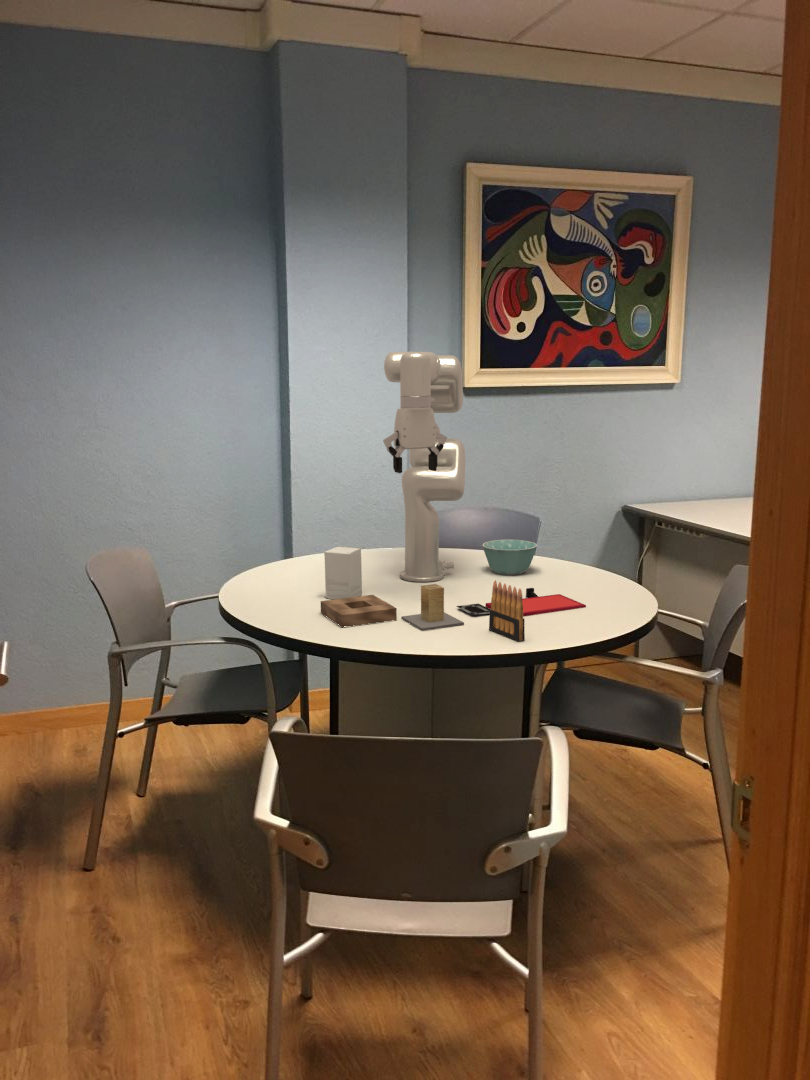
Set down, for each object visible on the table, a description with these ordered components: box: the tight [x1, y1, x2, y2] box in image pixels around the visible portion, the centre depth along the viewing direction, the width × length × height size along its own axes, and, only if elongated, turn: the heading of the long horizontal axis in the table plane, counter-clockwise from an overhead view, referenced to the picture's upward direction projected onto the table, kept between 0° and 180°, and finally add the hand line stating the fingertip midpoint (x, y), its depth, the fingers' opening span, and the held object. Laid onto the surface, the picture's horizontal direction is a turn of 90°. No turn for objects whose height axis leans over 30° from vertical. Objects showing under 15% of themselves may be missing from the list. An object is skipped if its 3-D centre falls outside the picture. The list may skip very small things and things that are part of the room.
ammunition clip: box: [488, 580, 525, 643], centre depth 207 cm, size 11×2×12 cm, turn 32°
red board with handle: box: [455, 587, 587, 618], centre depth 232 cm, size 30×3×15 cm
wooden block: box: [420, 583, 445, 622], centre depth 218 cm, size 4×4×8 cm
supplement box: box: [323, 546, 363, 600], centre depth 241 cm, size 7×7×13 cm
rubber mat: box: [400, 611, 465, 632], centre depth 219 cm, size 11×11×1 cm
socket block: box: [320, 594, 398, 628], centre depth 224 cm, size 14×14×3 cm
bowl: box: [481, 539, 538, 576], centre depth 269 cm, size 16×16×8 cm
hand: (415, 471), depth 234 cm, fingers open, 9 cm apart
